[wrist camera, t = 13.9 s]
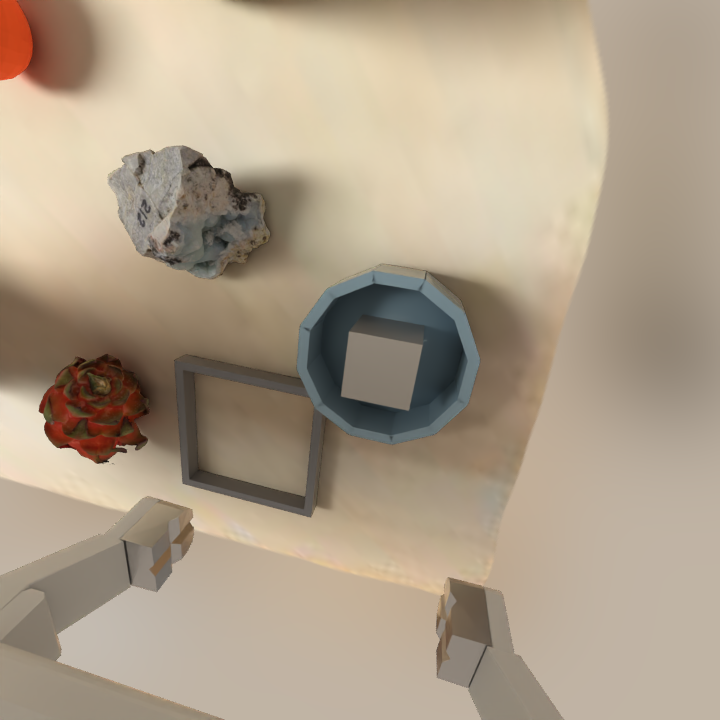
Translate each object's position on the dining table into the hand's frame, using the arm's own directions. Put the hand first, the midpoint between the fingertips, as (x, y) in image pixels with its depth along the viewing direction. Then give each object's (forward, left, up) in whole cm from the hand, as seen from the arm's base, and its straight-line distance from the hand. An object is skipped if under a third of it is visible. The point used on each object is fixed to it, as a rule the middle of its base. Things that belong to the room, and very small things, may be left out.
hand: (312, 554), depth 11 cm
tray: (-12, -12, -21) cm, 27 cm away
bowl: (0, 0, -21) cm, 21 cm away
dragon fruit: (-26, -11, -21) cm, 35 cm away
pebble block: (0, 0, -20) cm, 20 cm away
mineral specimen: (-17, +8, -21) cm, 28 cm away
